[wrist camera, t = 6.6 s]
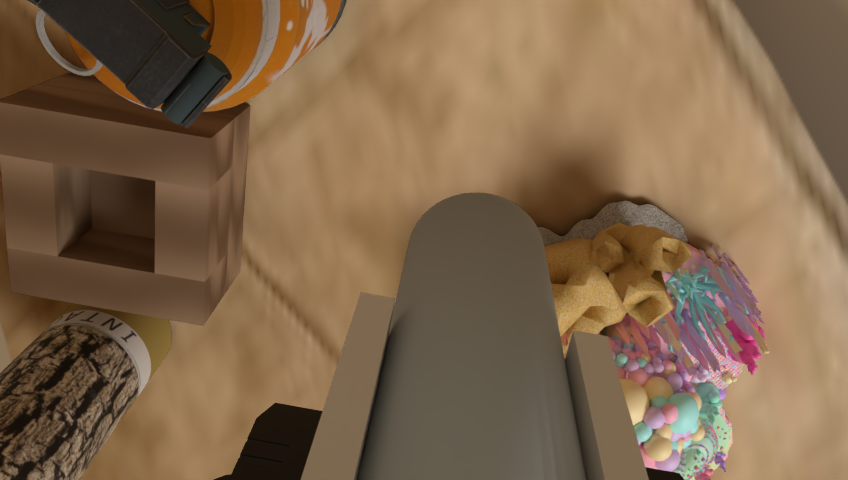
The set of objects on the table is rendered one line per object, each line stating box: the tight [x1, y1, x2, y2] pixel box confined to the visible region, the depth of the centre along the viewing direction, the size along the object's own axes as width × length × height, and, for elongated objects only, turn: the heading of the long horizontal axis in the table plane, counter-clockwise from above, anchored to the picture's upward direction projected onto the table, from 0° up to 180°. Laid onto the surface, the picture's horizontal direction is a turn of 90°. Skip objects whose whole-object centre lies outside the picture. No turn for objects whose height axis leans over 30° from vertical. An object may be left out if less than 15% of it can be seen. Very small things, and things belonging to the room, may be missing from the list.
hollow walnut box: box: [0, 74, 250, 326], centre depth 43 cm, size 11×11×7 cm
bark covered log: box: [0, 303, 172, 480], centre depth 40 cm, size 7×7×25 cm
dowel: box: [357, 193, 586, 480], centre depth 15 cm, size 4×4×16 cm
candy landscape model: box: [538, 201, 770, 480], centre depth 46 cm, size 25×24×9 cm
